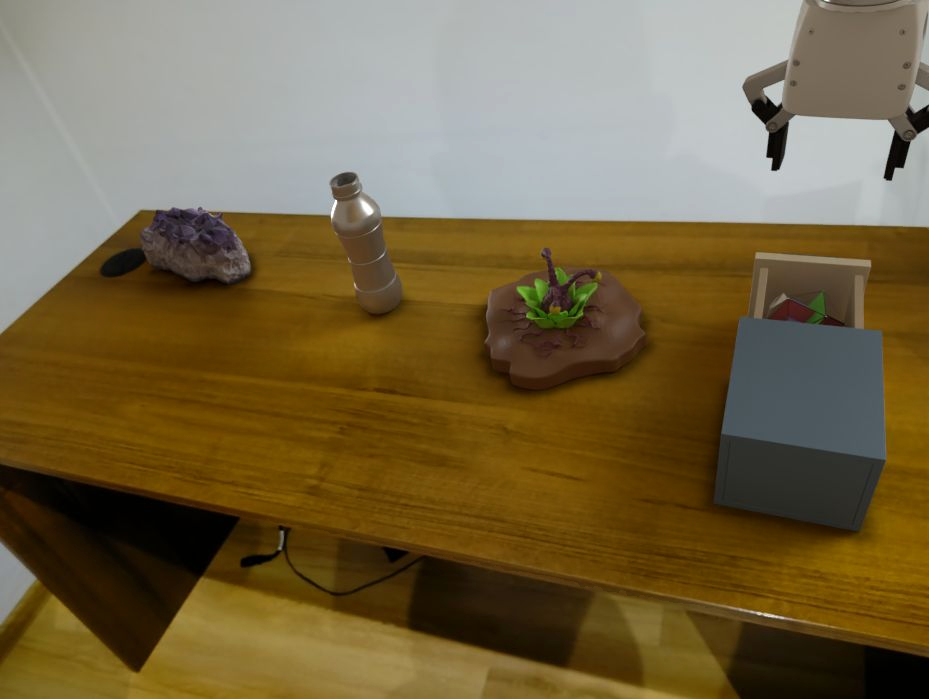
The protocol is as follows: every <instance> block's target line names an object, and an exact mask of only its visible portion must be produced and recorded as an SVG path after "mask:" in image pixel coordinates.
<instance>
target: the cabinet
mask: <svg viewBox="0 0 929 699" xmlns="http://www.w3.org/2000/svg"><path fill="white" fill-rule="evenodd" d="M883 353H884V352H883V331H882V330H878V329H877V330H876V329H868V328H867V329H866V328H864V329H858V328H848V327H839V326H829V325H819V324H809V323H799V322H790V321H780V320H770V319H760V318H750V317H748V316H739V319H738V325H737V332H736V337H735V344H734V350H733V357H732V363H731V369H730V375H729V383H728V388H727V394H726V399H725V400H726V401H725V408H724V414H723V419H722V426H721V432H720V439H719V440H720V441H719V450H718V460H717V469H716V478H715V488H714V497H713V504H714V505H719V506H723V507H728V508H734V509H740V510H745V511H750V512H754V513H759V514H765V515H769V516H770V515H771V516H775V517H780V518H785V519H790V520H796V521H801V522H805V523H810V524H816V525H820V526H827V527H832V528H837V529H842V530H845V531H846V530H848V531H852V532H857V533H860V532H861V530H862V527H863V525H864V522H865V519H866V518H867V514H868V511H869V508H870V507H871V503H872V500H873V498H874V495H875V492H876V489H877V487H878V484H879V481H880V479H881V475H882V472H883V471H884V467H885V465H886V463H887V442H886V441H887V440H886V416H885V415H886V414H885V413H886V410H885V384H884V357H883V355H884V354H883Z"/></svg>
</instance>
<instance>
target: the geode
mask: <svg viewBox="0 0 929 699" xmlns="http://www.w3.org/2000/svg"><path fill="white" fill-rule="evenodd" d="M139 241H140V243H141V245H142V247H141V250H142V251H143V254H144V256H145V258H146V260H147V262H148V264H149V267H151V268H153V269H155V270H157V271H158V270H159V271H161V270H164V271H171V272H172V273H174V274H175V275H176V276H179V277H182V278H184V279H187V280H188V281H190V282H192V283H197V282H202V281H205V280H207V279H209V280H210V279H211V280H217V281H220V282H221V283H223V284H225V285H230V284H234V283H236V282H239V281H242V280H245V278H247V277H249V276H251V274H252V271H253V270H252V269H253V268H252V265H251V264H252V263H251V261H250V257H249V254H248V251H247V250H246V248H245V247H244V245H243V242H242V240H241V239H240V237H239V236H238V234H237V232H236V231H235V230H234V229H233V228H232V227H231V226H230V225H227V224H226V222H225V221H224V220H223V212H222V211H220V212H218V213H217V214H215V215H213V214H211V213H210V212H209V211H207V210H206V209H203V207H202V206H199V207H198V208H185V209H182V208H179V207H174V206H173V207H171V208H170V209H168V211H166V210H160V209H158V208H157V209H156V210H155V214H154V216H153V218H152V222H151V224H150V225H148V226H146V227H144V228H142V230H141V231H140V232H139Z"/></svg>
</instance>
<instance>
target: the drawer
mask: <svg viewBox="0 0 929 699" xmlns="http://www.w3.org/2000/svg"><path fill="white" fill-rule="evenodd" d="M871 269H872V260H871V259H858V258H845V257H839V256H833V255H831V256H830V255H817V254H805V253H804V254H803V253H790V252H781V253H773V252H762V251H761V252H760V251H759V252H757V251H756V252H755V256H754V263H753V271H752V281H751V287H750V295H749V302H748V303H749V304H748V311H747V317H750V318H760V319H769V318H770V317H771V316H772V314H773V313H774V312H775V311H776V310H777V309H778V308H779V307H780V306H781V305H782V304H783V303H784V302H785V300H784V301H783V302H781V303H780V304H778V305H779V306H778V305H776V306H775V307H773V308H771V310H770V312H769V314H768V311H769V309H770V308H769V306H770V305H771V303H772V302H773V301H774V300H775V299H776V298H777V297H778V298H779V297H780V295H781V294H783V293H785V295H786V296H787V297H789V298H792V297H793V298H792V299H794V300H796V301H798V302H800V303H803V304H805V305H807V306H809V305H810V304H811V303H812V302H813V301H814V300H815V299H816V298H817V297H818V296H819V295H820V294H821V293H822V292H823V290H824V292H825V293H824V298H825V308H826V315H828V316H830V317H832V318H834V319H836V320H838V321H840V322H842V323H845V324H846V325H844V326H843V327H848V328H858V329H865V323H864V322H865V321H864V320H865V319H864V318H865V315H864V312H865V311H864V308H865V307H864V305H865V304H864V302H865V301H864V296H865V292H866V287H867V283H868V279H869V277H870V272H871ZM818 291H821V292H818ZM811 292H813V293H812V294H811ZM815 292H817V293H815ZM804 293H806V294H807V295H806V294H804ZM797 294H799V295H797ZM790 295H791V296H790ZM801 295H803V296H801ZM826 295H827V296H826ZM796 296H798V297H796ZM778 298H777V299H778ZM828 298H829V299H828ZM777 299H776V300H777ZM776 300H775V301H776ZM831 303H832V304H831ZM777 306H778V307H777ZM833 306H834V307H833ZM835 309H836V310H835ZM774 310H775V311H774ZM773 311H774V312H773ZM837 312H838V313H837ZM767 314H768V316H767ZM770 315H771V316H770ZM839 315H840V316H839ZM766 317H767V318H766ZM842 320H843V321H842Z"/></svg>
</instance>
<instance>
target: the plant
mask: <svg viewBox="0 0 929 699" xmlns="http://www.w3.org/2000/svg"><path fill="white" fill-rule="evenodd" d="M552 254H553V252H552V249H551V248H550V247H543V248H542V249H541V250H540V252H539V256H540V258H541V259H542V260H546V261H545V262H546V265H547V269H546V270H540V271H534V272H529V273H527V274H525V275H524V276H523V277H521V278H520V279H518V280H516V281H513V282H510V283H507V284H504V285H502V286H499V287H496V288H493V289H491V290H490V291H489V296H488V297H487V302H486V303H487V304H486V305H487V310H486V313H485V319H486V326H487V329H488V335H487V338H486V339H485V341H484V342H483V349H484V354H485V355H486V356H489V357H490V362H491V365H492V368H493V370H494V371H495V372H498V373H503V374H509V380H510V383H511V385H512V386H515V387H518V388H521V389H525V390H532V391H542V390H547V389H550V388H554V387H556V386H559V385H561V384H564V383H566V382H568V381H571V380H574V379H579V378H582V377H587V376H592V375H596V374H603V373H604V374H605V373H606V374H607V373H614V372H617V371H618V370H619V369H620V368H621V367H624V366H625V365H628V364H629V363H630V362H633V360H634V359H635V357H636V356H637V355H638V353H639V352H641V351H642V350H643V349H645V348H646V347H647V334H646V332H645V331H644V329H642V327H640V326H641V325H642V323H643V310H642V307H641V305H640V304H639V302H638V301H636V300H635V299H634V298H633V296H632V295H631V294H630V293H629V292H628V290H627V289H626V287H625V286H624V285H623V284H622V283H621V282H620V280H619V279H618V278H617V277H615V276H614V275H613V274H612V273H611V272H610V271H608V270H607V269H598V268H597V269H596V268H588V267H587V268H586V267H576V266H570V267H568V266H567V267H556V268H555V264H554V262H553V260H552V256H553V255H552Z"/></svg>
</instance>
